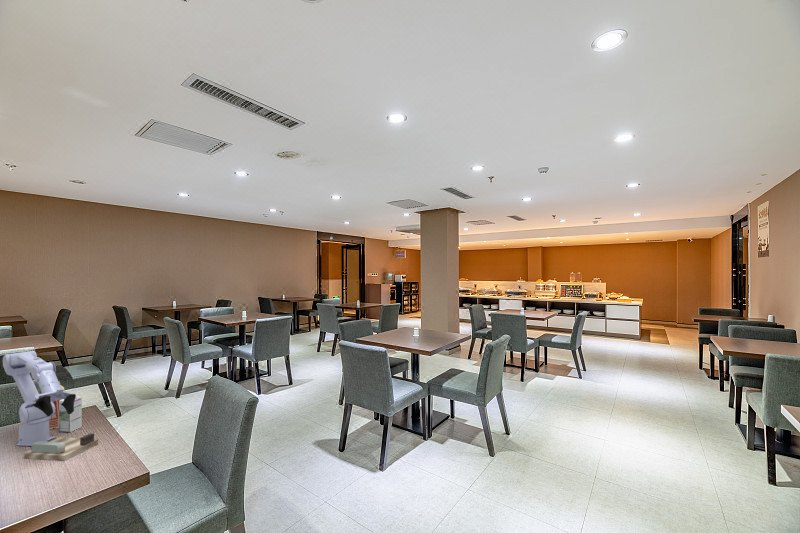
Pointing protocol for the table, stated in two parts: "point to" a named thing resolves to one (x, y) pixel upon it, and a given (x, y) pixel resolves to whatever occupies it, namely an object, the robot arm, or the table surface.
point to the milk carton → (55, 414)
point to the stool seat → (71, 448)
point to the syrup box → (70, 416)
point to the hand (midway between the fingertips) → (61, 413)
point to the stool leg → (48, 447)
